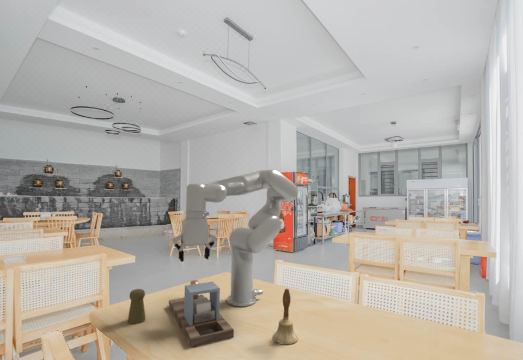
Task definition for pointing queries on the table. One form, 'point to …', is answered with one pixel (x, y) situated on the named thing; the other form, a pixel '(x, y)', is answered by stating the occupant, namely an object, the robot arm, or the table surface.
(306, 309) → the table surface
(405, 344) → the table surface
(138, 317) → the cork
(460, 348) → the table surface
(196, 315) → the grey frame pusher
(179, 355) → the table surface
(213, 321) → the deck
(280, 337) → the hand bell
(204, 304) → the cream block
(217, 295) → the tunnel
